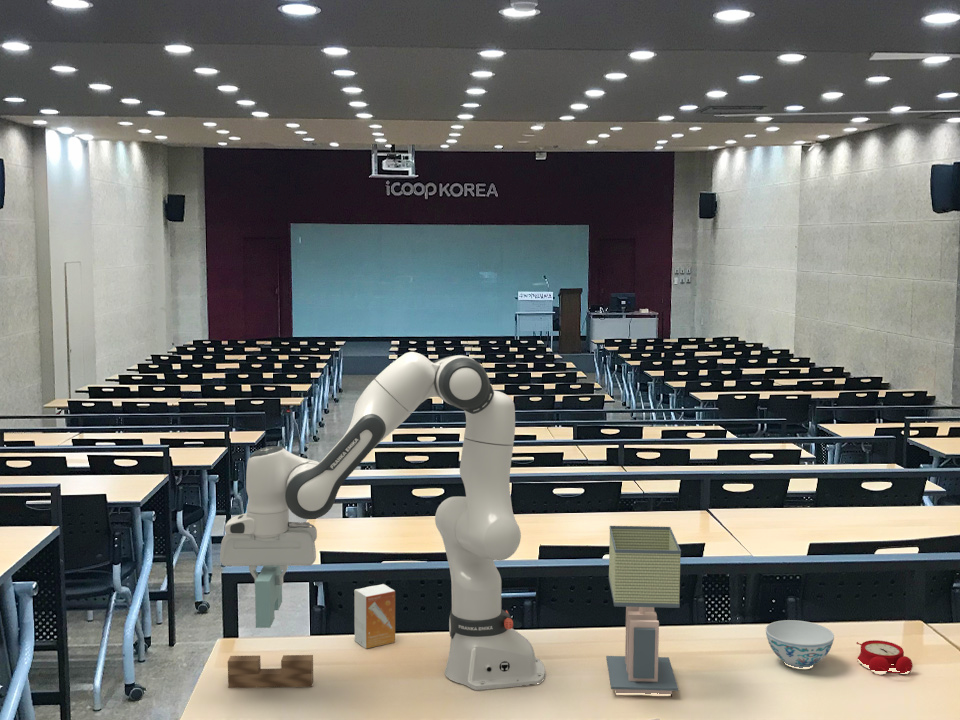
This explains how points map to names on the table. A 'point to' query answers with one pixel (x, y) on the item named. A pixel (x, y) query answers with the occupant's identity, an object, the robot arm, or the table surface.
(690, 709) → the table surface
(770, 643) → the chinaware
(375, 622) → the small box
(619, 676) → the desk lamp
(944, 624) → the table surface
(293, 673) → the walnut notched block
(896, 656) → the alarm clock
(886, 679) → the table surface
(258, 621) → the teal plate
